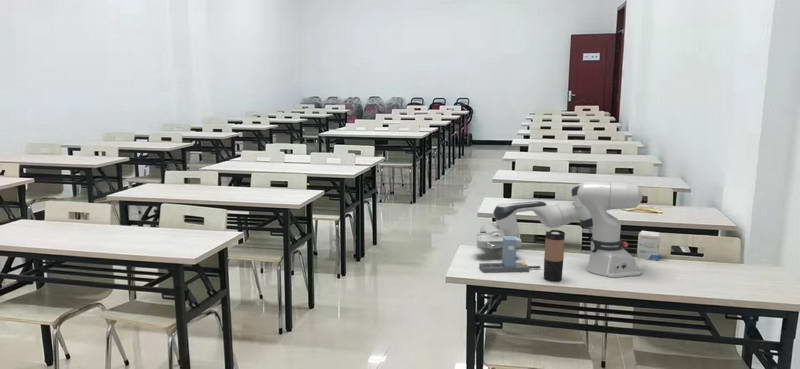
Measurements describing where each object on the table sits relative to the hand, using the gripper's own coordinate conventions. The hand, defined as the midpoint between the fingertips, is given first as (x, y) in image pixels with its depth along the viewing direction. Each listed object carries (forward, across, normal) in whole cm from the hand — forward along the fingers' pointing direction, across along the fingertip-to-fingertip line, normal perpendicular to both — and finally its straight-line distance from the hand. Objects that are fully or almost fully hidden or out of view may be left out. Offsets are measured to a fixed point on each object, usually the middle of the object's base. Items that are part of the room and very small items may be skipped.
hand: (503, 247), depth 261 cm
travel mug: (+21, -15, -8) cm, 27 cm away
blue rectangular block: (+8, 0, -8) cm, 11 cm away
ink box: (-6, -71, -8) cm, 72 cm away
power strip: (+8, -1, -8) cm, 11 cm away
